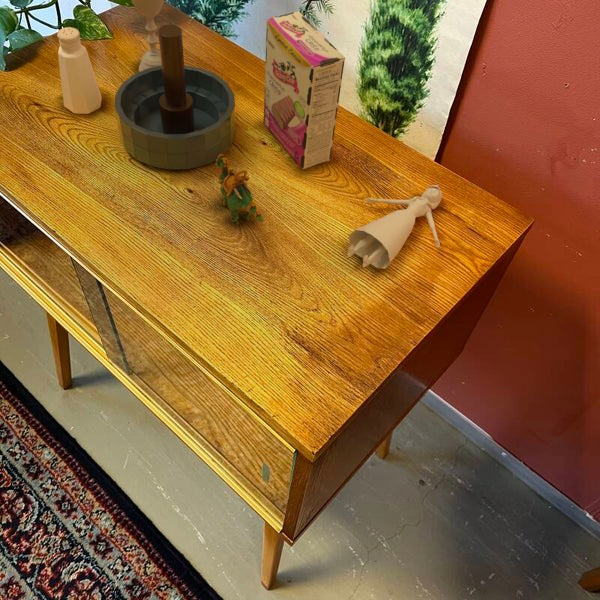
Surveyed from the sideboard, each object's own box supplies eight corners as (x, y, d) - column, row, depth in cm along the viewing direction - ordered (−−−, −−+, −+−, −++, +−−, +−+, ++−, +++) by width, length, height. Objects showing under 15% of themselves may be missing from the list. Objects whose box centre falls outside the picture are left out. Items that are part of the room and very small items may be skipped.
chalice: (162, 50, 104) (150, -70, 90) (188, 70, 102) (180, -50, 87) (122, 66, 101) (103, -56, 87) (148, 88, 98) (133, -34, 84)
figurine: (228, 184, 87) (227, 134, 81) (273, 245, 82) (276, 196, 75) (206, 191, 86) (204, 141, 80) (251, 253, 80) (252, 205, 74)
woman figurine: (321, 219, 78) (405, 156, 88) (315, 246, 82) (398, 182, 92) (401, 273, 74) (480, 200, 84) (392, 298, 78) (469, 226, 88)
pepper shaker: (96, 88, 97) (82, 17, 89) (107, 109, 95) (94, 38, 86) (59, 96, 96) (41, 25, 87) (69, 118, 93) (52, 47, 84)
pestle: (158, 137, 91) (146, 37, 79) (168, 118, 93) (158, 17, 81) (189, 143, 90) (182, 43, 79) (198, 124, 93) (193, 24, 81)
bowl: (103, 161, 88) (96, 124, 83) (143, 92, 98) (138, 56, 93) (217, 183, 87) (216, 147, 83) (246, 112, 97) (247, 76, 92)
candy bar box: (260, 125, 95) (264, 17, 82) (290, 115, 97) (299, 8, 84) (301, 173, 90) (312, 65, 77) (332, 162, 92) (347, 55, 79)
